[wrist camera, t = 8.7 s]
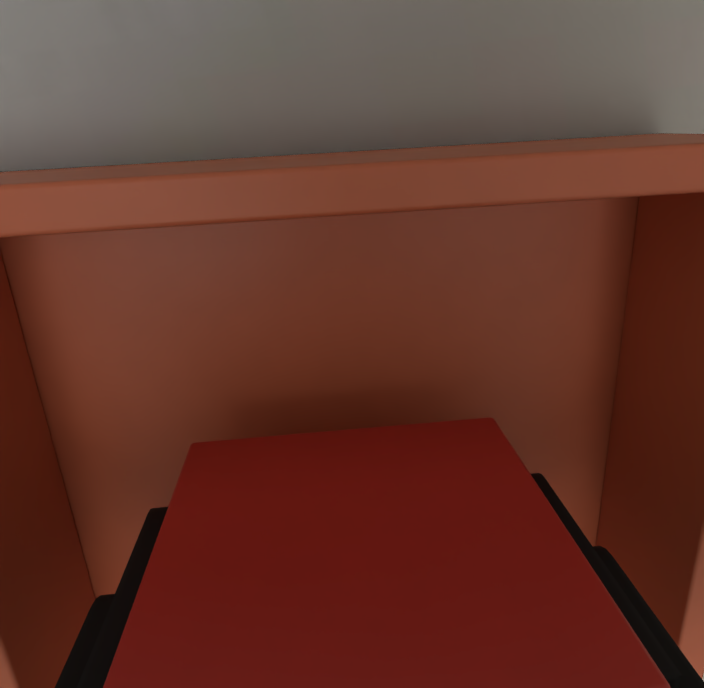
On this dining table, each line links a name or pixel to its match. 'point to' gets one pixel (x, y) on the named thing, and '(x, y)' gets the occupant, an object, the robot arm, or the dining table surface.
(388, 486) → the red block
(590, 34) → the dining table surface
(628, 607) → the robot arm
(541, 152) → the orange open box
